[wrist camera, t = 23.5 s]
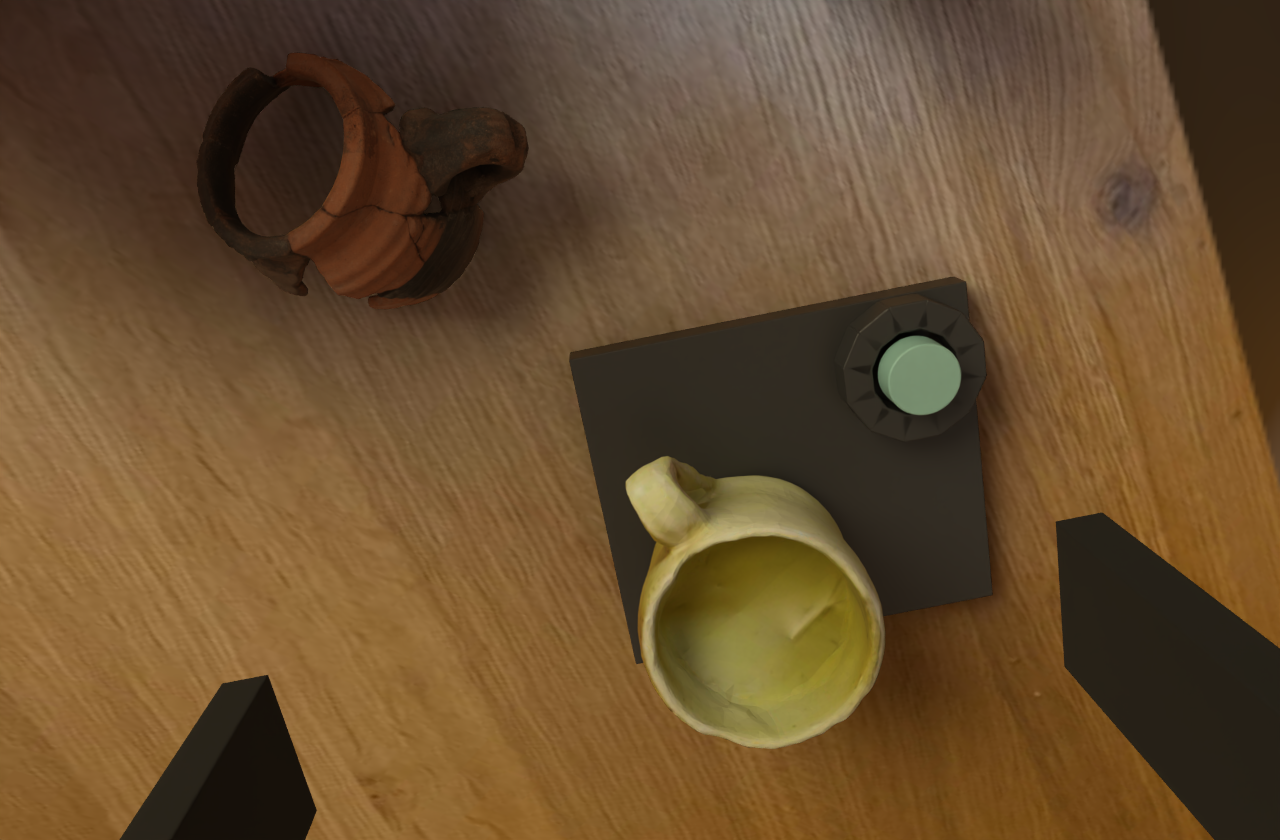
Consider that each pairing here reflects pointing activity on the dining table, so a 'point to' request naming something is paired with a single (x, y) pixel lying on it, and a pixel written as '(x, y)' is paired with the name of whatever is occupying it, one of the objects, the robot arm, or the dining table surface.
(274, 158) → the dining table surface
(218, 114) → the pottery mug
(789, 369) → the scale
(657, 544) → the mug
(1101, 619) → the robot arm
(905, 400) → the power button
